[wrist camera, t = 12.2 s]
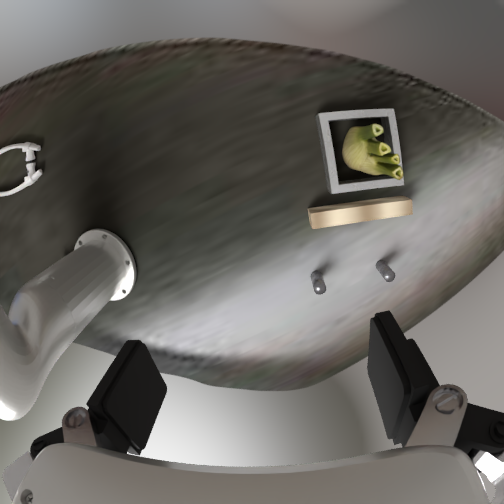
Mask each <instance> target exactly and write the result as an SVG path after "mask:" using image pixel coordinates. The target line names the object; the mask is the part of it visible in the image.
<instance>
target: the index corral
mask: <svg viewBox="0 0 504 504" xmlns="http://www.w3.org/2000/svg"><path fill="white" fill-rule="evenodd" d="M315 118H316V123H317V128H318V134H319V139H320V145H321V150H322V156H323V162H324V169H325V175H326V182H327V189H328V191H329V192H330V193H331V194H336V193H343V192H350V191H358V190H366V189H374V188H383V187H392V186H401V185H404V179H403V178H402V179H400V180H397V179H395V178H393V177H391V176H381V177H372V178H363V179H355V180H347V181H339V182H338V176H337V169H336V163H335V156H334V150H333V144H332V138H331V133H330V127H329V122H333V121H344V120H357V119H373V118H381V124H382V127H383V129H384V130H383V131H384V132H383V136H384V142H385V144H387V145H388V146H390V148H391V152H389V153H393V154H398V155H399V157H400V163H399V164H397V165H400V166H401V167H402V159H401V151H400V143H399V136H398V130H397V124H396V118H395V112H394V109H367V110H350V111H338V112H327V113H318V114H317V115H316V116H315ZM402 169H403V168H402Z"/></svg>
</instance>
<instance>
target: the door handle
mask: <svg viewBox="0 0 504 504" xmlns="http://www.w3.org/2000/svg"><path fill="white" fill-rule="evenodd" d="M14 148H22V152H26V155H27V157H26V161H30V164H27V165H26V168H27V170H28V171H27V173H28V176H27V177H24V179H25V182H24V183H22V184H21V185H19V186H18V187H16V188H14V189H12V190H10V191H5V192H0V196H7V195H11V194H14V193H16V192H18V191H20V190H22V189H24V188H25V187H27V186H30V185H32V184H33V183H34V182H35V181H36V180H37V179H38V178H39V177H40V176H41V175H42V170H41V169H40V170H38V171H37V172H35V166H36V162H35V163H32V161H31V160H34V159H35V155H34V150H35V151H40V150H41V146H40V145H36V144H35V143H31V142H25V143H19V144H13V145H9V146H6V147H4V148H2V149H0V154H2V153H4V152H6V151H8V150H10V149H14Z"/></svg>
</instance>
